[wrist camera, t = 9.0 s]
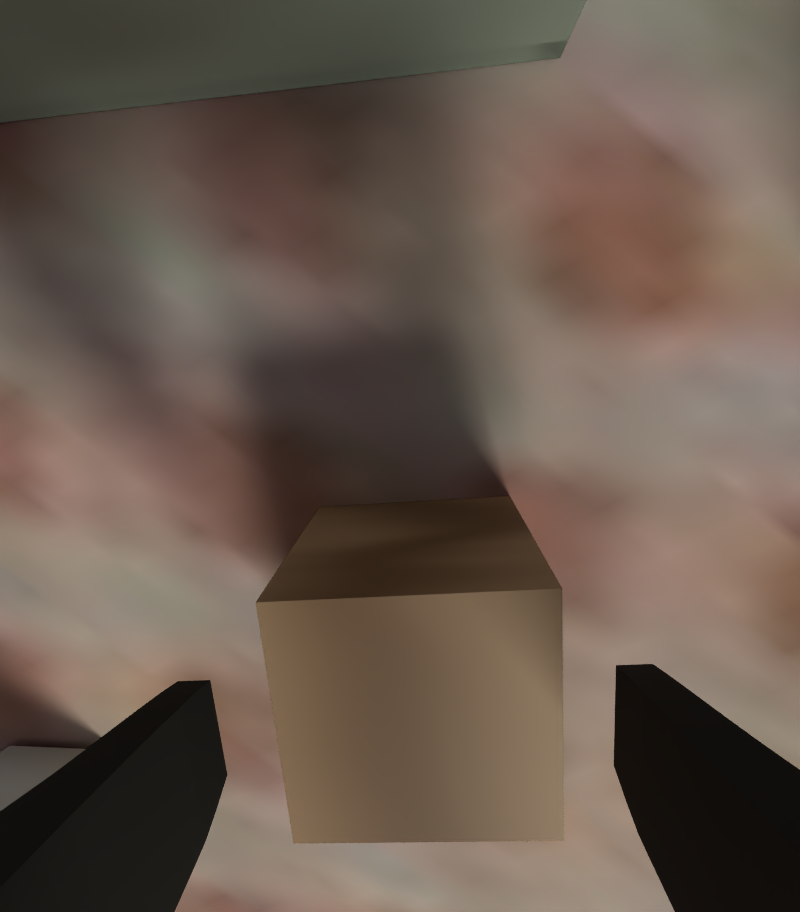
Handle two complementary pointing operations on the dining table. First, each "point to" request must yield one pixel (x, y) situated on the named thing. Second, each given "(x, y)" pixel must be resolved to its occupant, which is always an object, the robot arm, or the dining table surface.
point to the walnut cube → (417, 675)
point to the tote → (251, 46)
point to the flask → (29, 768)
